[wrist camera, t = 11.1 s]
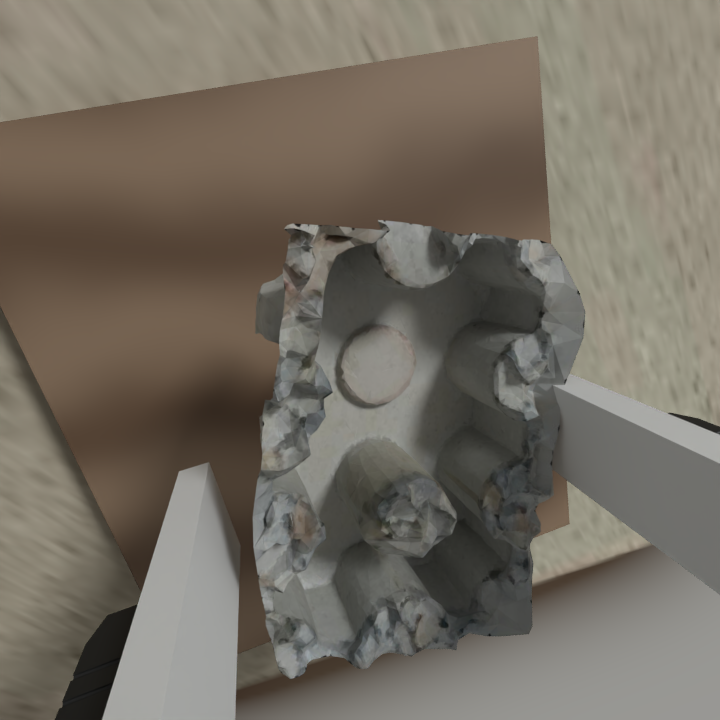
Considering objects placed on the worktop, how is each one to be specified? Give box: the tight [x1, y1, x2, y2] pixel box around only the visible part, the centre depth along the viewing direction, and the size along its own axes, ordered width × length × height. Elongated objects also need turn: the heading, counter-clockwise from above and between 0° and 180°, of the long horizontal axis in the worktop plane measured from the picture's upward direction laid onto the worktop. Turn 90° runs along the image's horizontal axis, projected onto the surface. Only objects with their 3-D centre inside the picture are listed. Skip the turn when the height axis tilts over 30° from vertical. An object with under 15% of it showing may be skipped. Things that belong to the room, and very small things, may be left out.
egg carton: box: [253, 220, 585, 679], centre depth 11 cm, size 11×8×4 cm
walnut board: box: [0, 36, 569, 654], centre depth 18 cm, size 22×20×1 cm
